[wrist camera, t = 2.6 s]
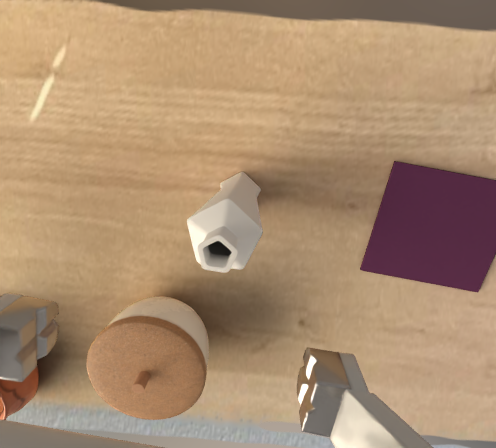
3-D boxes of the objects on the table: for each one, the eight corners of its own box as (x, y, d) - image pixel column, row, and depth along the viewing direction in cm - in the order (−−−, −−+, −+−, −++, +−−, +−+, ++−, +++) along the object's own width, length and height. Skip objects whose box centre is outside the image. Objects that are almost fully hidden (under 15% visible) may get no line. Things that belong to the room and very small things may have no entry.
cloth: (524, 185, 30) (526, 186, 30) (476, 291, 33) (478, 292, 33) (394, 161, 30) (395, 161, 30) (360, 269, 33) (360, 270, 33)
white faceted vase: (227, 159, 31) (192, 197, 16) (269, 180, 31) (270, 234, 17) (207, 202, 32) (159, 271, 18) (248, 222, 32) (232, 304, 18)
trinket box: (120, 273, 35) (70, 327, 26) (220, 285, 35) (204, 343, 26) (122, 356, 38) (79, 429, 29) (214, 367, 38) (198, 443, 29)
